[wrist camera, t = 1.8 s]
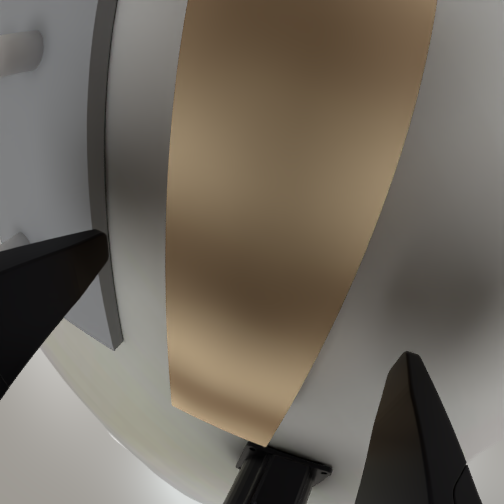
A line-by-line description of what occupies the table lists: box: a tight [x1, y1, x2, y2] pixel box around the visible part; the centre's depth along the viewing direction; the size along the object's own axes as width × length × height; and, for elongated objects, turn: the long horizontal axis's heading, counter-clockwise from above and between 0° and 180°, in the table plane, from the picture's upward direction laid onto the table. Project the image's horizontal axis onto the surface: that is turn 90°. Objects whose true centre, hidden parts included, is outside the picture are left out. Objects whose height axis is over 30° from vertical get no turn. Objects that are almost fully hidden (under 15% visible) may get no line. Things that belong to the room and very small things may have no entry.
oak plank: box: [165, 0, 437, 447], centre depth 10 cm, size 18×5×4 cm, turn 170°
